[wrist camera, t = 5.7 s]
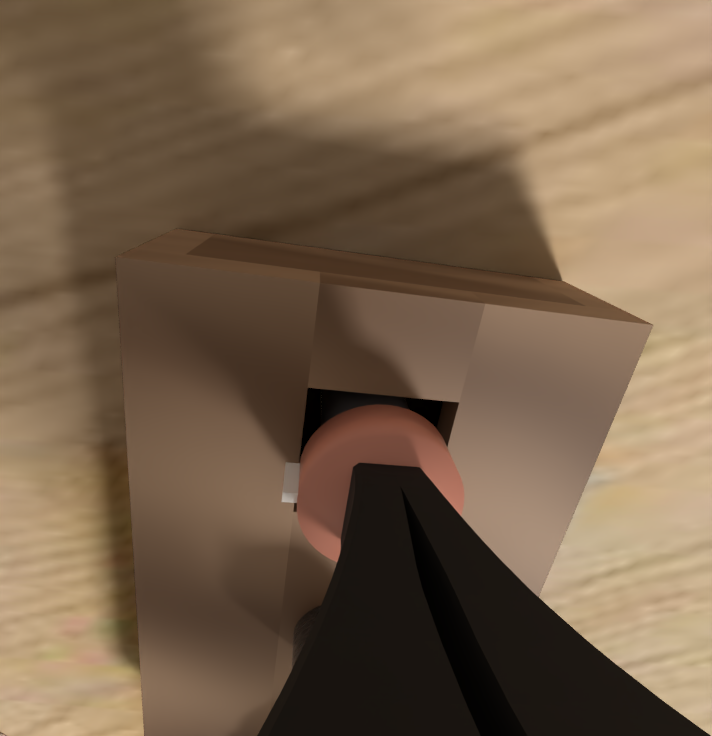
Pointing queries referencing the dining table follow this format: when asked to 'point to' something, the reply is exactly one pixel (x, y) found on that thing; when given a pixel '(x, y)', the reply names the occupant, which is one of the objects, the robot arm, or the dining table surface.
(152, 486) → the mount
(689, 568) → the dining table surface
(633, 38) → the dining table surface
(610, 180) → the dining table surface
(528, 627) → the robot arm
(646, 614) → the dining table surface
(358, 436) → the knob red
